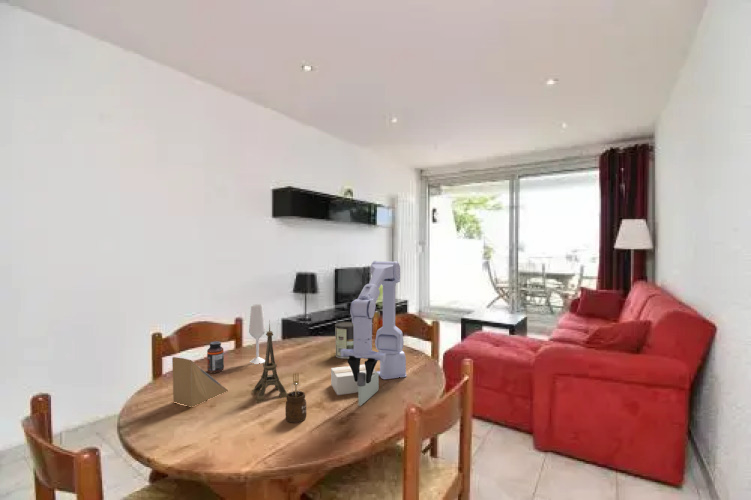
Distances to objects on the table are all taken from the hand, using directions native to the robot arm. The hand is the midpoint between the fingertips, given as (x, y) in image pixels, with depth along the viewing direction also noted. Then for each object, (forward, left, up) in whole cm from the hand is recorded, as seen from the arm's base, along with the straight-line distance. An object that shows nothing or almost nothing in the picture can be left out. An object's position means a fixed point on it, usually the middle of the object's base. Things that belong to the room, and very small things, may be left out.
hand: (362, 381), depth 119 cm
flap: (-3, -4, -7) cm, 9 cm away
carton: (-1, -15, -7) cm, 17 cm away
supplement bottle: (+46, -49, -8) cm, 67 cm away
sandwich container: (+48, -23, -8) cm, 54 cm away
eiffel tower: (+27, -19, -8) cm, 34 cm away
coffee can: (-8, -52, -8) cm, 53 cm away
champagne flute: (+30, -56, -8) cm, 64 cm away
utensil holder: (+21, +2, -8) cm, 22 cm away
